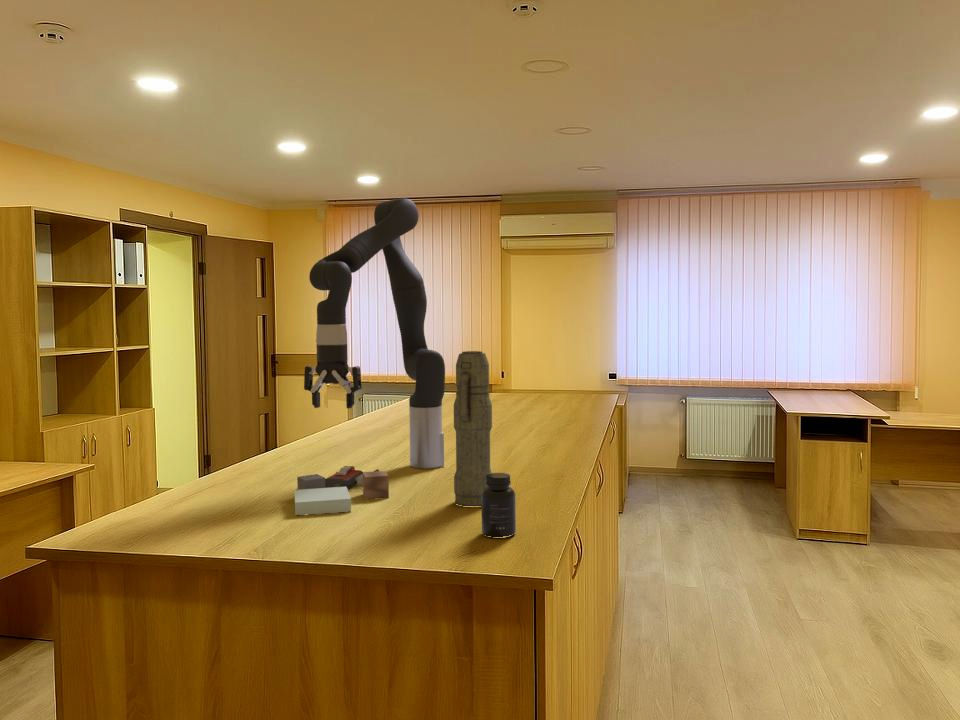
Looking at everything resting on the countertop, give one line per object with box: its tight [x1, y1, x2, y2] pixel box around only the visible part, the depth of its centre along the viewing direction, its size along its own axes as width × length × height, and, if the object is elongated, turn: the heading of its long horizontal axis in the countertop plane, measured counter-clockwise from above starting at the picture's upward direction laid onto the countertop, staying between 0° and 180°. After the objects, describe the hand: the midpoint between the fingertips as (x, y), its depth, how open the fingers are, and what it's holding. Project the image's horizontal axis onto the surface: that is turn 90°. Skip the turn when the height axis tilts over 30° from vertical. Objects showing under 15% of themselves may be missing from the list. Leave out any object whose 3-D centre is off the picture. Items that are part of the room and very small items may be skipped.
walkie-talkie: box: [325, 465, 380, 490], centre depth 200 cm, size 9×4×20 cm
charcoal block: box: [296, 473, 326, 490], centre depth 184 cm, size 5×5×5 cm
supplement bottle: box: [480, 472, 517, 537], centre depth 152 cm, size 7×7×12 cm
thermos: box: [453, 350, 493, 506], centre depth 176 cm, size 9×12×35 cm
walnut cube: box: [362, 470, 390, 500], centre depth 184 cm, size 6×6×6 cm
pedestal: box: [294, 487, 352, 516], centre depth 175 cm, size 12×12×3 cm
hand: (333, 407), depth 191 cm, fingers open, 8 cm apart
